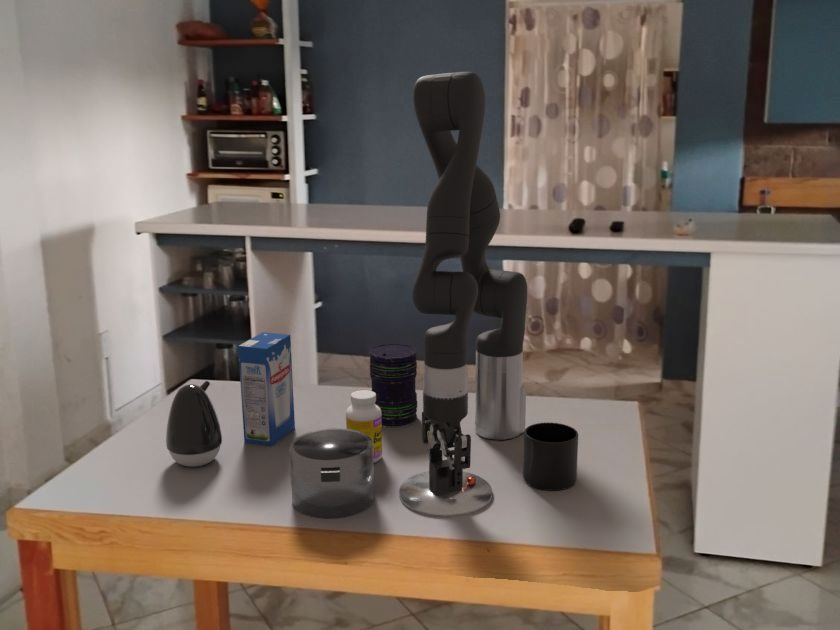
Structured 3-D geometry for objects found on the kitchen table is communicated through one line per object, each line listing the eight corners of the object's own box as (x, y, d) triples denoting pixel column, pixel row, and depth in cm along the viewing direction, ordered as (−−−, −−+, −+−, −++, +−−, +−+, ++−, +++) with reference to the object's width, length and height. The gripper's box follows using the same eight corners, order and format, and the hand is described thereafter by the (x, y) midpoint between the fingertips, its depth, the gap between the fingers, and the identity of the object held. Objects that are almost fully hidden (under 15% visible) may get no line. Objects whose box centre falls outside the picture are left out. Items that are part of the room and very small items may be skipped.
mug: (576, 464, 164) (578, 418, 162) (576, 493, 153) (578, 444, 151) (525, 460, 166) (526, 415, 164) (521, 489, 155) (522, 441, 152)
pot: (295, 477, 160) (292, 425, 157) (373, 474, 161) (371, 422, 158) (288, 525, 143) (285, 468, 140) (375, 521, 144) (374, 464, 141)
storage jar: (390, 406, 194) (388, 341, 190) (426, 416, 188) (426, 348, 184) (361, 420, 186) (359, 352, 182) (398, 431, 180) (397, 361, 176)
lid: (464, 469, 163) (465, 438, 162) (509, 506, 149) (510, 472, 148) (384, 486, 157) (384, 454, 155) (423, 526, 143) (423, 491, 141)
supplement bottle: (377, 467, 164) (376, 401, 161) (343, 464, 165) (340, 399, 162) (386, 452, 170) (384, 389, 167) (352, 449, 172) (350, 387, 168)
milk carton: (272, 446, 173) (266, 348, 168) (244, 442, 175) (237, 345, 170) (295, 427, 183) (290, 334, 177) (268, 424, 185) (262, 331, 179)
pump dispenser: (235, 455, 170) (230, 379, 166) (200, 476, 161) (194, 397, 157) (192, 446, 174) (186, 372, 170) (156, 467, 165) (149, 390, 161)
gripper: (486, 398, 143) (485, 492, 148) (446, 372, 156) (446, 459, 160) (444, 406, 140) (444, 501, 145) (407, 379, 153) (408, 467, 157)
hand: (445, 479), depth 152 cm, fingers open, 7 cm apart
